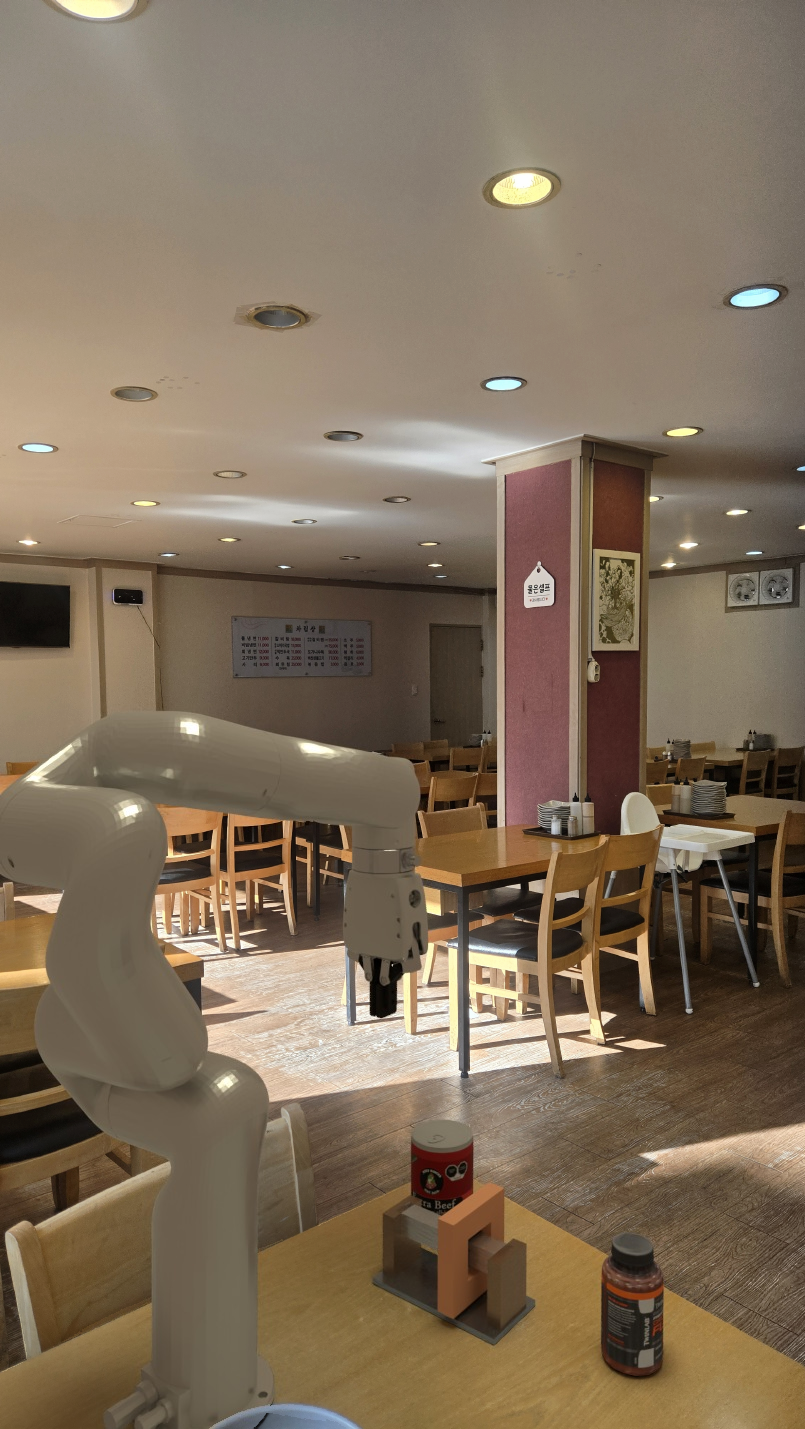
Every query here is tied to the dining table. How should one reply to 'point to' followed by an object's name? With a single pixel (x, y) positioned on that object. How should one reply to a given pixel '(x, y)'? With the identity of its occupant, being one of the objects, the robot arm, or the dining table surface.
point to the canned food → (441, 1164)
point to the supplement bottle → (632, 1306)
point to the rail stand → (417, 1271)
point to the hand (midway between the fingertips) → (383, 1013)
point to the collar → (466, 1247)
